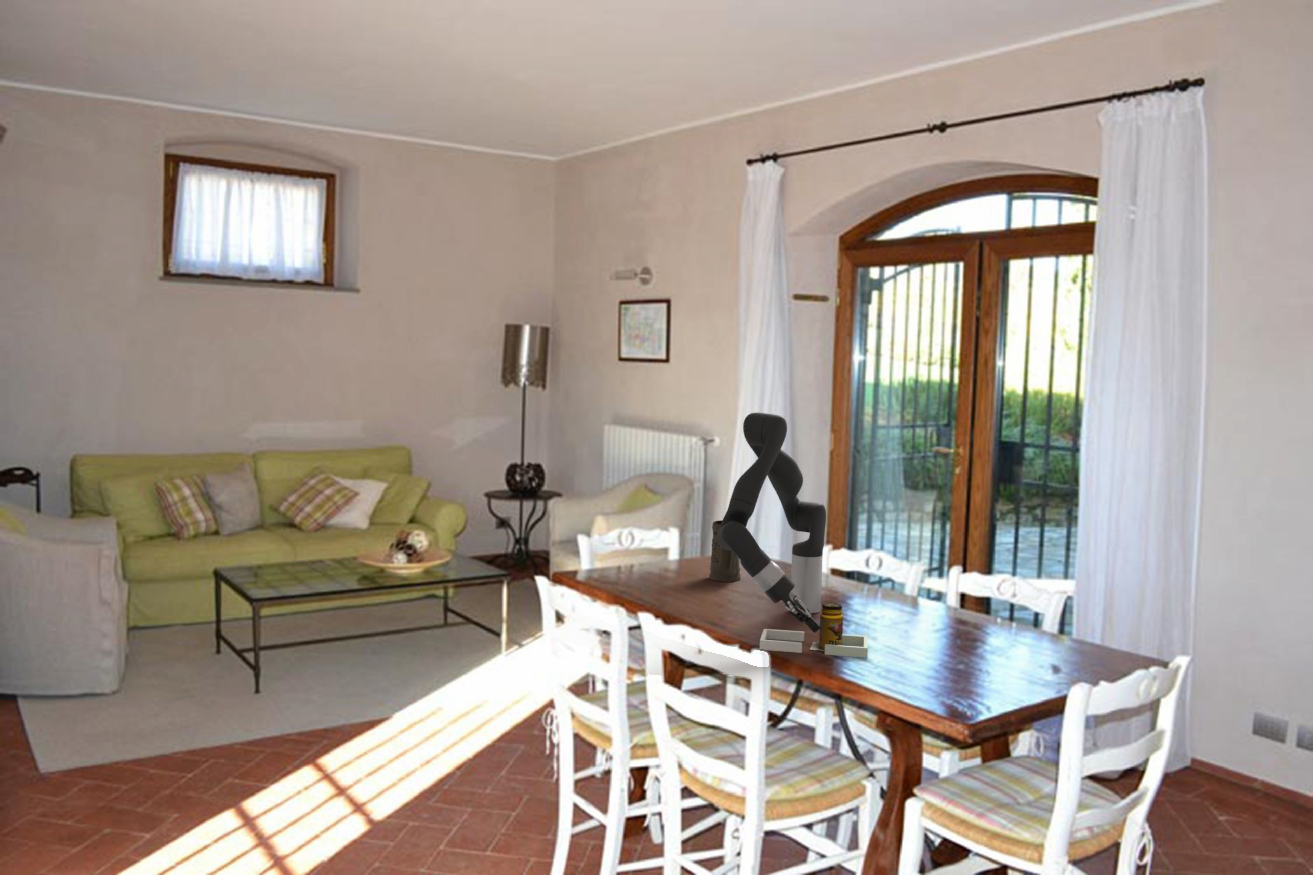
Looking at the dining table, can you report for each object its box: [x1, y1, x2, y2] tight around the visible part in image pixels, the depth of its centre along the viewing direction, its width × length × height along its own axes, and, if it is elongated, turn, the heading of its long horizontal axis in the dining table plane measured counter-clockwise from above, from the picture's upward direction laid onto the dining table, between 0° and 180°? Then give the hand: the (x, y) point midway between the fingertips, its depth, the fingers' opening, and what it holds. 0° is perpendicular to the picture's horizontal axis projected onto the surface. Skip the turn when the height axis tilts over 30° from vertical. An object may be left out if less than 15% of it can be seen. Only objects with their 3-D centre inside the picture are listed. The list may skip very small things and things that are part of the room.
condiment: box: [809, 602, 845, 652], centre depth 297 cm, size 7×8×12 cm
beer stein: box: [708, 519, 742, 583], centre depth 380 cm, size 15×11×20 cm
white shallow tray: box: [824, 633, 869, 659], centre depth 296 cm, size 12×11×2 cm
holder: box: [759, 628, 805, 654], centre depth 299 cm, size 12×11×2 cm
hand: (817, 629), depth 297 cm, fingers closed
